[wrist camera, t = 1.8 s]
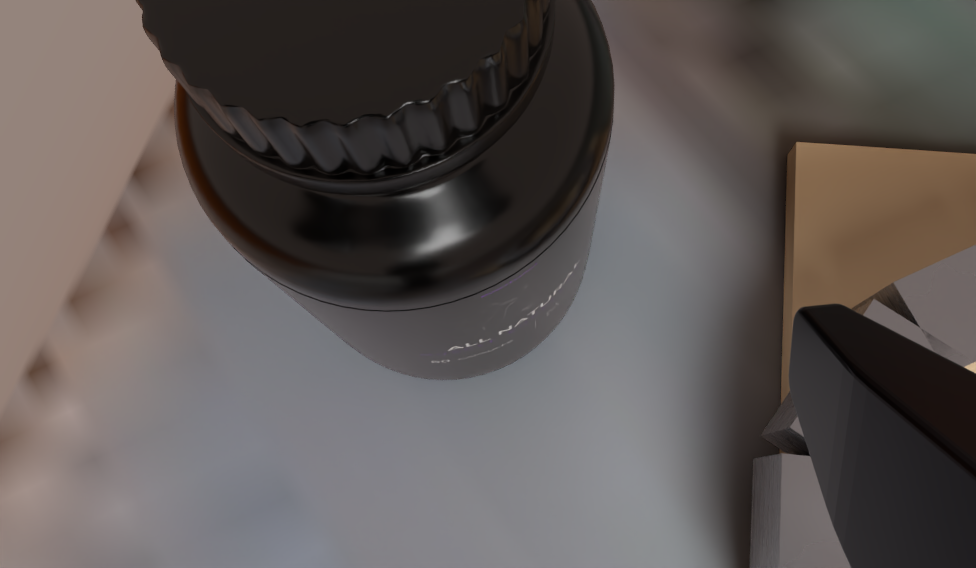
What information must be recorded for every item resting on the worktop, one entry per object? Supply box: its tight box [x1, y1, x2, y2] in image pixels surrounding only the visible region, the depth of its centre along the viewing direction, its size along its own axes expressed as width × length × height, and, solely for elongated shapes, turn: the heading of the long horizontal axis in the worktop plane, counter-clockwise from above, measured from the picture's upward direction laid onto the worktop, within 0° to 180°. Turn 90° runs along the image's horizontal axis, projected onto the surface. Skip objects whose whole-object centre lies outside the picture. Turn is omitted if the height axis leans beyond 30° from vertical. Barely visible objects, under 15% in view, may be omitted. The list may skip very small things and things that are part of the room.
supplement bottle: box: [136, 0, 614, 380], centre depth 15 cm, size 7×7×12 cm
